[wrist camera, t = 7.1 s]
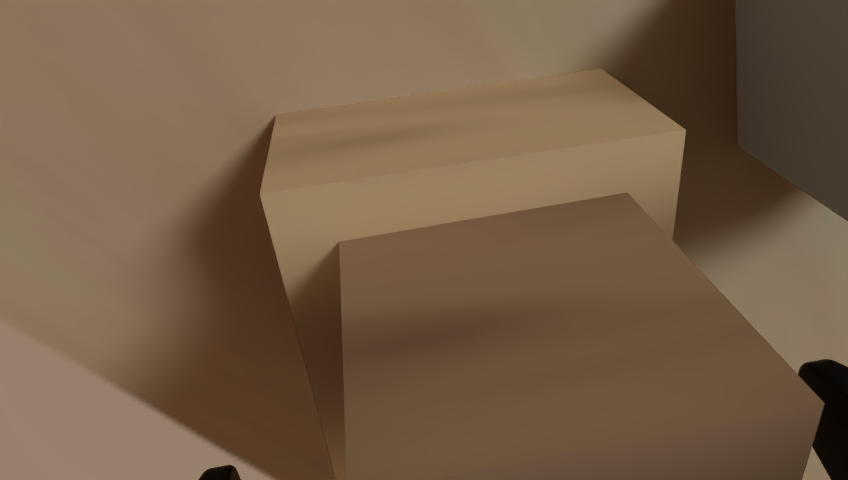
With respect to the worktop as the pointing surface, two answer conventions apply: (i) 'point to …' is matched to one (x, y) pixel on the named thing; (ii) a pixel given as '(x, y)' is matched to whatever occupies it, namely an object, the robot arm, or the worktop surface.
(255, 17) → the worktop surface
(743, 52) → the slate-grey cube
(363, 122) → the oak base block
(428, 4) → the worktop surface
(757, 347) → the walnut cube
